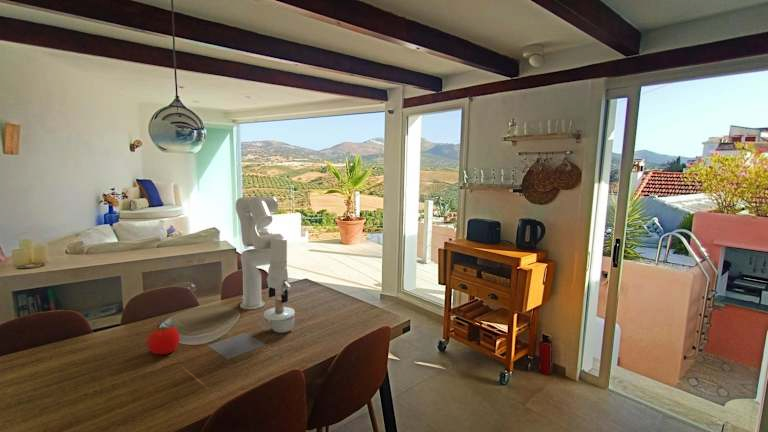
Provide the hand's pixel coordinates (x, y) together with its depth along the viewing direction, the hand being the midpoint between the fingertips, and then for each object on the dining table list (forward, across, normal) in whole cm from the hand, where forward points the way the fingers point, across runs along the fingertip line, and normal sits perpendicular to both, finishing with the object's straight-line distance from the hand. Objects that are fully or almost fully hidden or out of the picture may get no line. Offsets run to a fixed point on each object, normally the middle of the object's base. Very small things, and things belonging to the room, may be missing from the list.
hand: (278, 299), depth 171 cm
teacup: (+15, +1, 0) cm, 15 cm away
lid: (+7, +1, 0) cm, 7 cm away
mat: (+15, +1, -21) cm, 26 cm away
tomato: (+15, -16, -43) cm, 49 cm away
